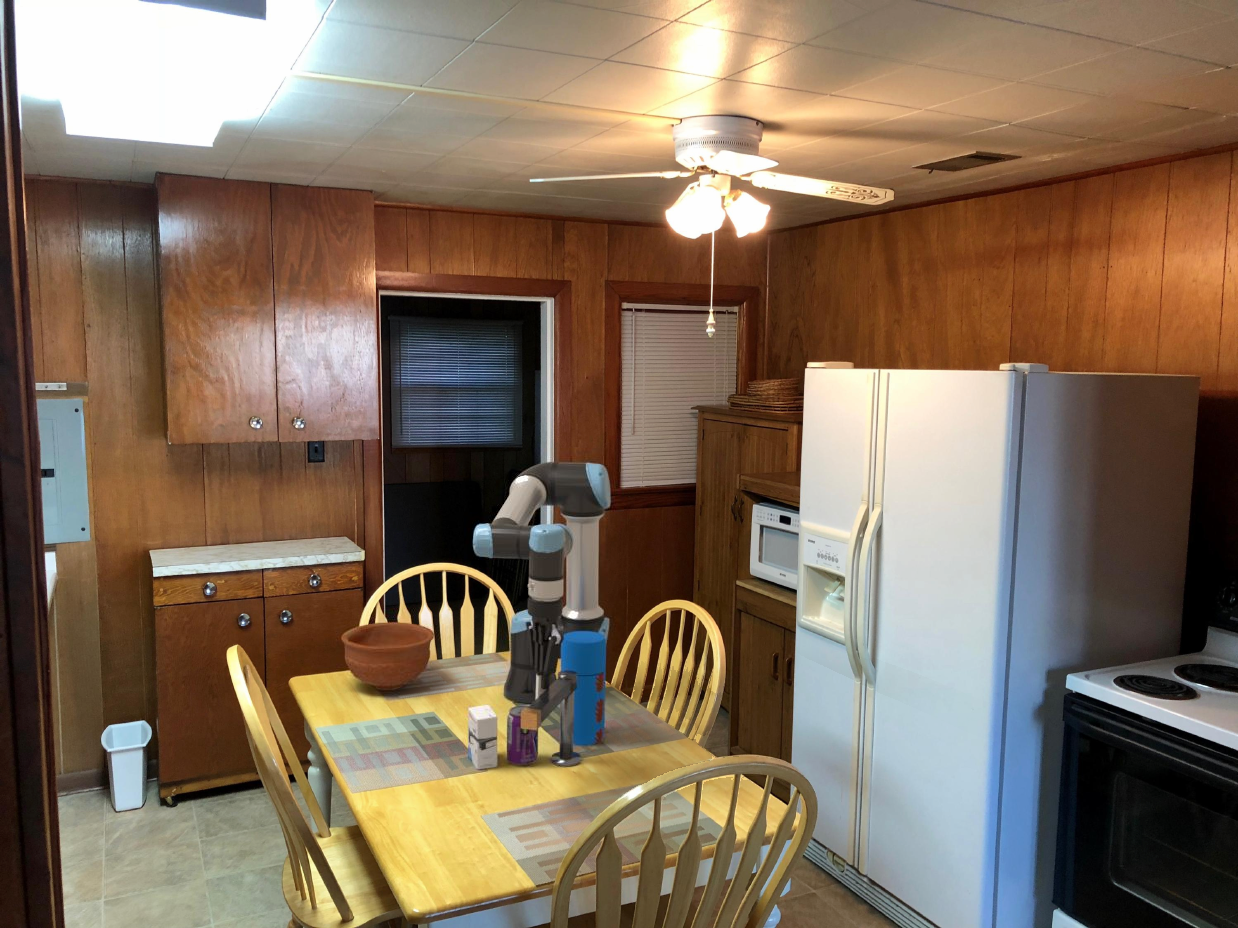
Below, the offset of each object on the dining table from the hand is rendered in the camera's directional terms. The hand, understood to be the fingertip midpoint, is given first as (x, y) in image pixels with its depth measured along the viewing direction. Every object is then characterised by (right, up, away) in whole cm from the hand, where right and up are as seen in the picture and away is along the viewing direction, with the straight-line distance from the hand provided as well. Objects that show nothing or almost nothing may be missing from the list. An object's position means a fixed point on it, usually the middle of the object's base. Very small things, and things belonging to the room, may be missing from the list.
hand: (542, 701), depth 210 cm
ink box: (-14, -16, +8) cm, 23 cm away
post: (+5, -16, +10) cm, 19 cm away
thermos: (+8, -15, +24) cm, 29 cm away
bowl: (-47, -10, +58) cm, 75 cm away
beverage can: (-5, -16, +9) cm, 19 cm away
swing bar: (+2, 0, -3) cm, 4 cm away
